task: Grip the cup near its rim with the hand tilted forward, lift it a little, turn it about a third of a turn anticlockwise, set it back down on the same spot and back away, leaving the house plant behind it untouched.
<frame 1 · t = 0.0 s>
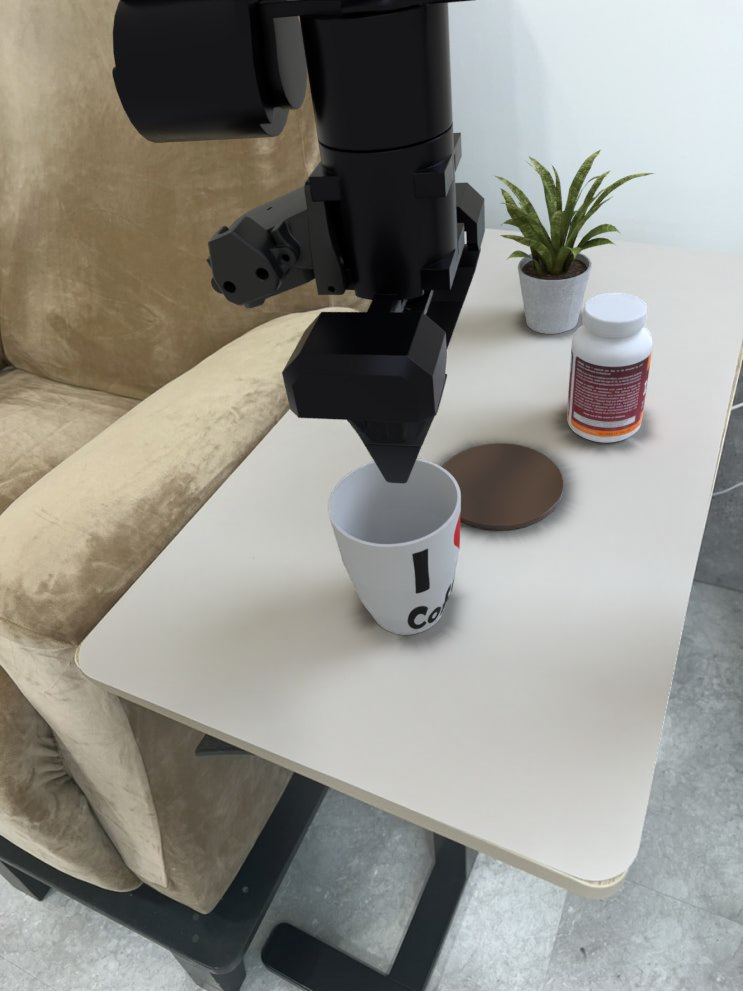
hand: (413, 427, 42), 16 cm above the table, tool pointing down, fingers open, 9 cm apart
coaster: (498, 486, 61), on the table
pill bottle: (603, 425, 66), on the table
cup: (407, 607, 53), on the table
house plant: (563, 319, 80), on the table
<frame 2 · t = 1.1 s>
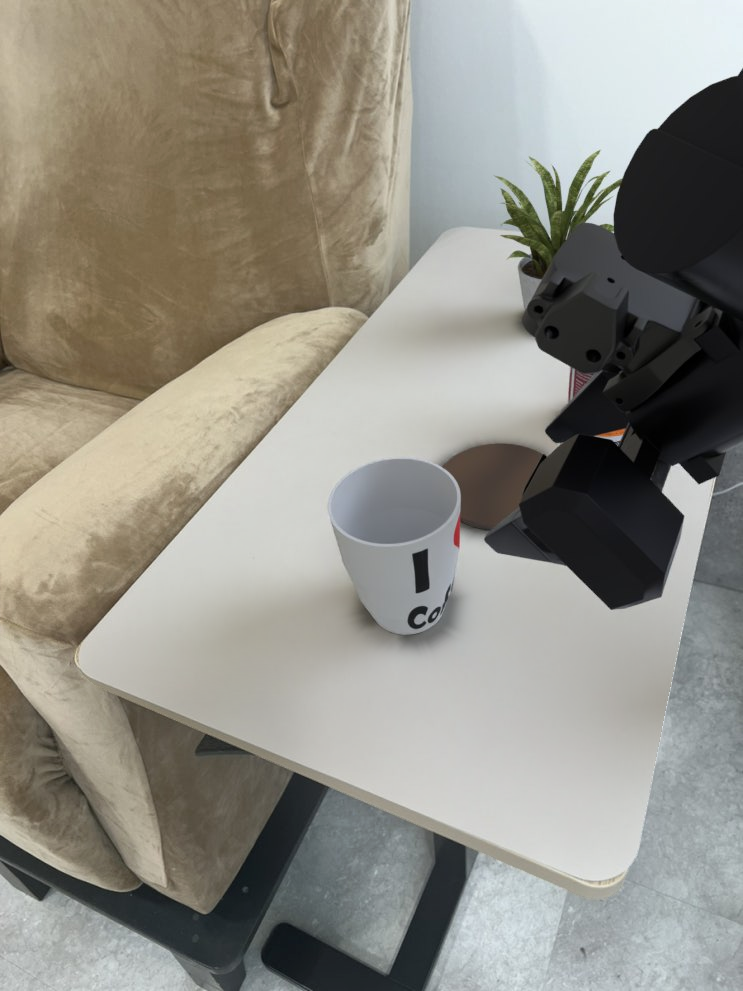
hand: (522, 486, 41), 13 cm above the table, tool tilted 45°, fingers open, 9 cm apart
nothing on the table moved.
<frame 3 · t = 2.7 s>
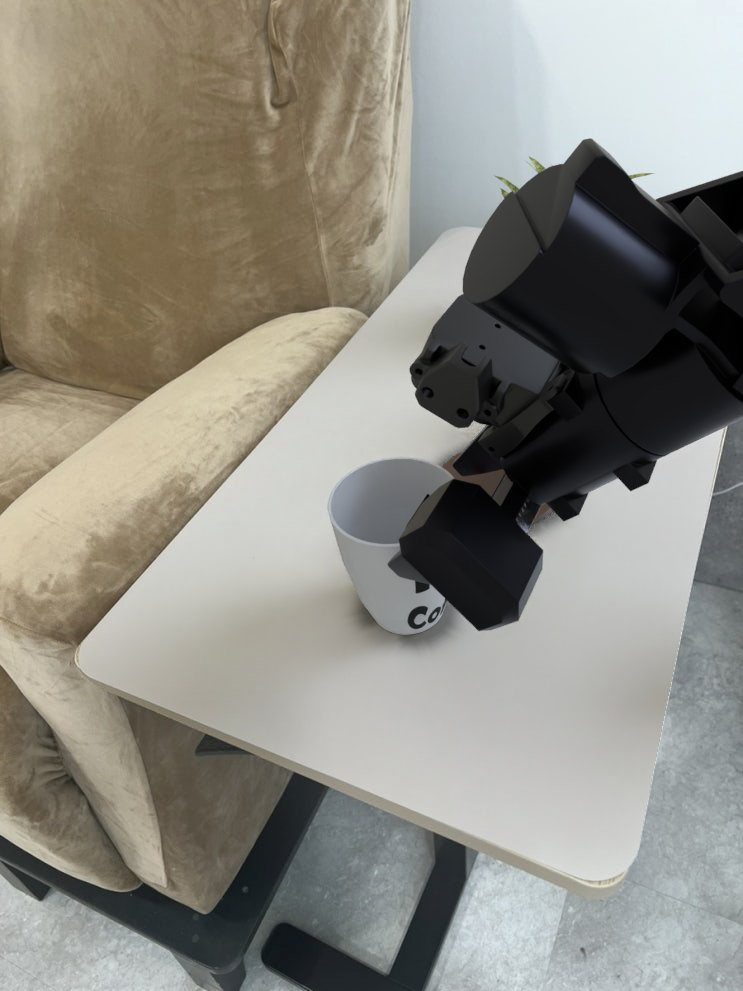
hand: (427, 516, 46), 9 cm above the table, tool tilted 45°, fingers open, 9 cm apart
nothing on the table moved.
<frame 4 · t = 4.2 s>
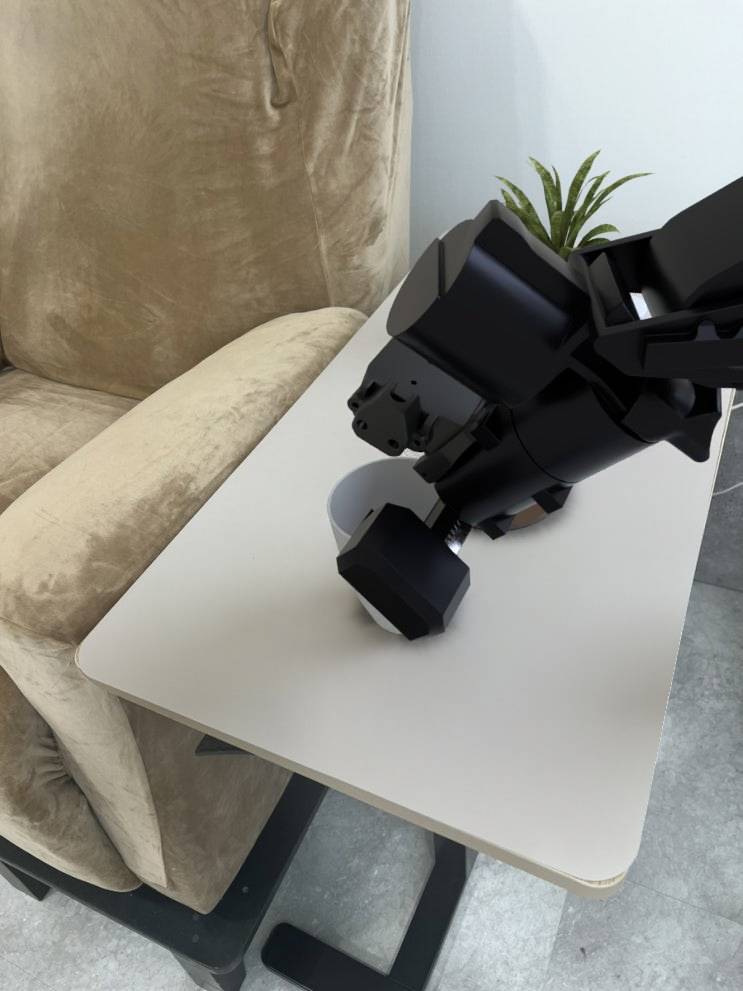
hand: (379, 532, 49), 7 cm above the table, tool tilted 45°, fingers closed on cup, 8 cm apart
cup: (407, 607, 53), on the table, touching gripper
everything else where it was.
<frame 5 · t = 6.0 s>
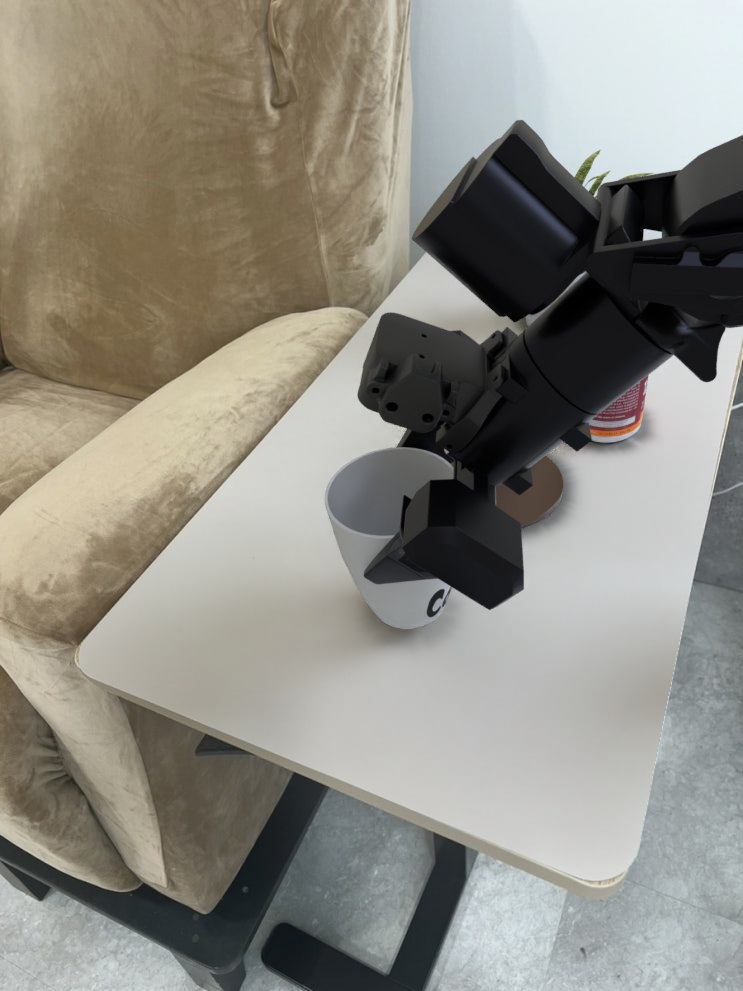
hand: (376, 529, 48), 8 cm above the table, tool tilted 45°, fingers closed on cup, 8 cm apart
cup: (409, 601, 52), point 1 cm above the table, touching gripper
everything else where it was.
when the fingers open (7 cm above the table, at t = 7.8 s): cup stays where it is, on the table.
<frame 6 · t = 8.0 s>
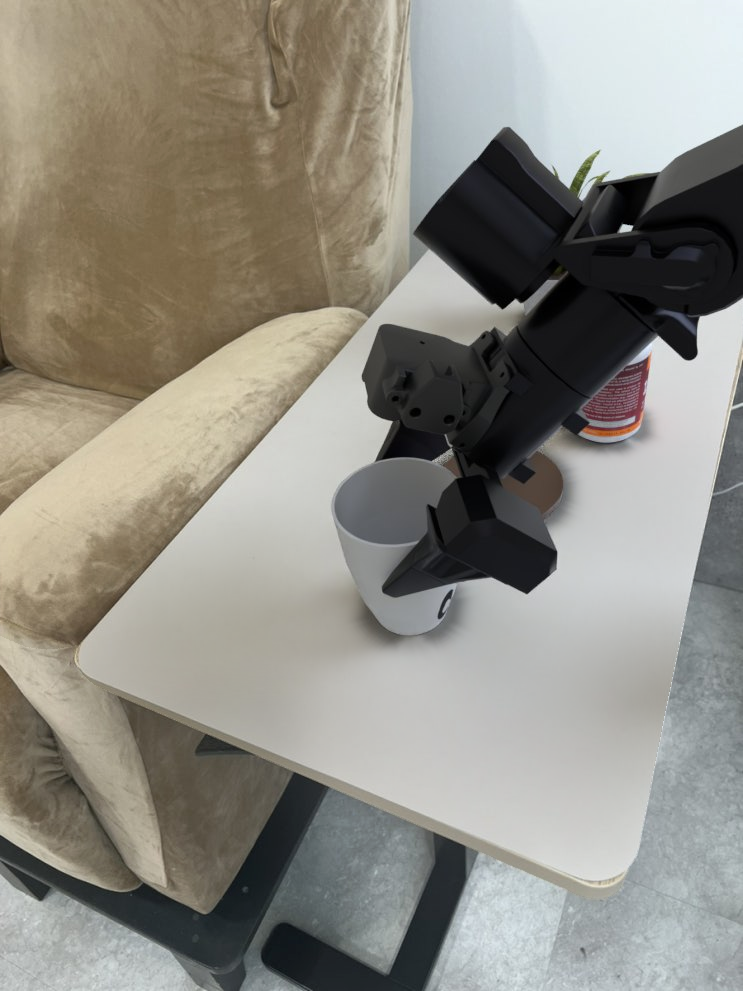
hand: (377, 539, 49), 7 cm above the table, tool tilted 45°, fingers open, 9 cm apart
cup: (410, 608, 53), on the table
everything else where it was.
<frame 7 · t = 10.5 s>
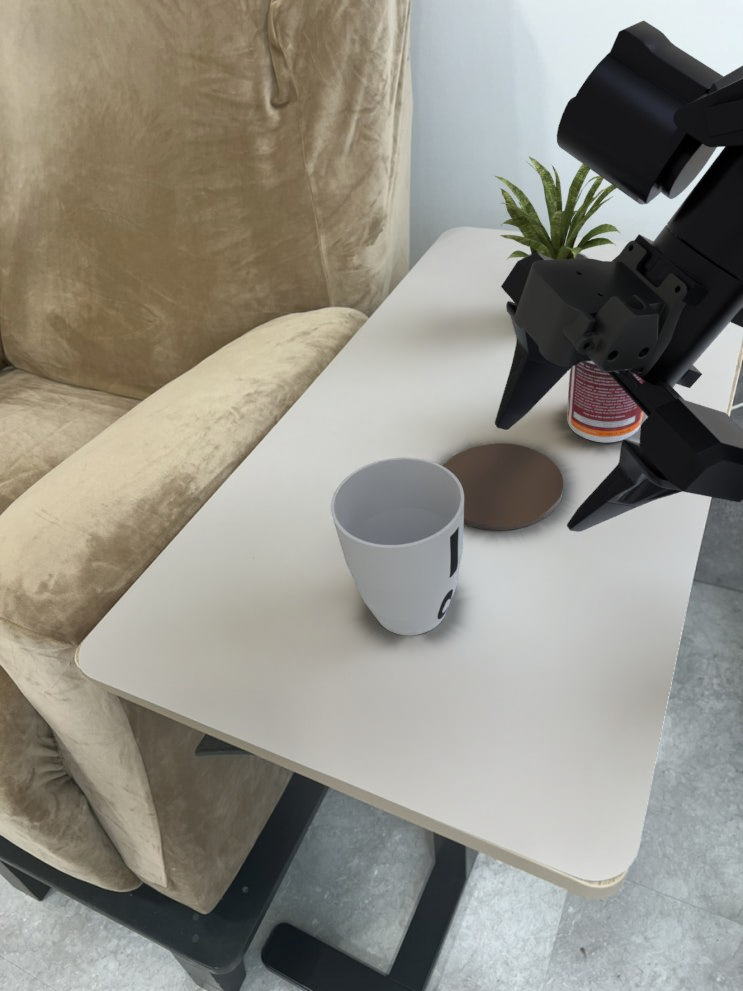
hand: (534, 475, 48), 9 cm above the table, tool tilted 35°, fingers open, 9 cm apart
nothing on the table moved.
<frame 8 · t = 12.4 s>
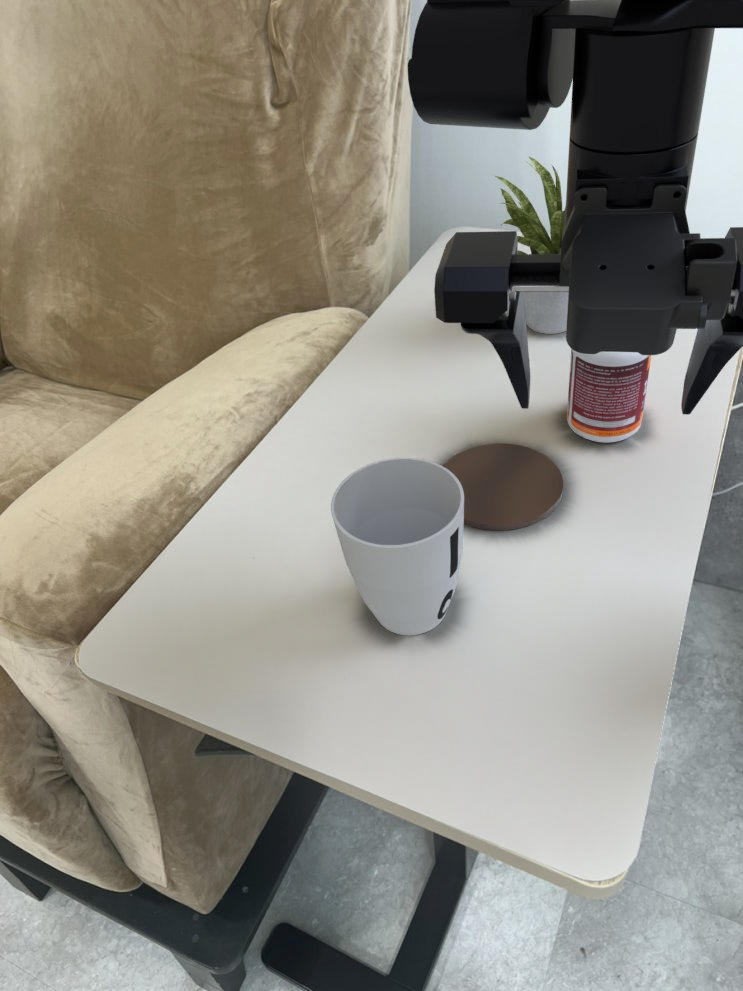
hand: (603, 407, 46), 13 cm above the table, tool pointing down, fingers open, 9 cm apart
nothing on the table moved.
at the end: cup tilted 0°; cup inside the target area (0.2 cm from its centre), on the table; house plant moved 0.2 cm from its start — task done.
